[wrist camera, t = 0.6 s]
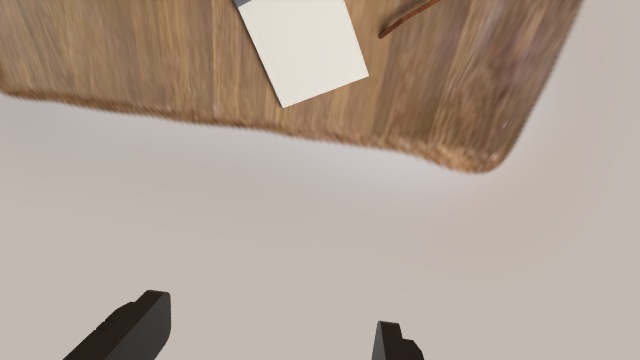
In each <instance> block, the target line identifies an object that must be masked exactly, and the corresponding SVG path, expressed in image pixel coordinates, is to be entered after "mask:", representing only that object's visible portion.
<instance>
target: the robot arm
mask: <svg viewBox="0 0 640 360" xmlns="http://www.w3.org/2000/svg"><path fill="white" fill-rule="evenodd" d="M170 301H171V300H170V294H169V293H168V292H161V291H154V290H147V291H146V292H145V293H144V294H143V295H142V296H141V297H140V298H139V299H138V300H137V301H136V302H129V303H127V304H125V305H123V306H122V307H120V308H118V309H116V310H115V311H114V312H113V313H112V314H111V315H110V316H109V317H108V318H107V319H106V320H105V322H102V323H101V324H100V325H99V326H98V327H97V328H96V330H94V331H93V332H92V333H91V334H89V335H88V336H87V337H86V338H85V339H84V340H83V341H82V342H81V343H80V344H79V345H78V346H77V347H76V348H75V349H74V350H73V351H72V352H70V353H69V354H68V355H67V356H66V357H65V358H64V359H63V360H154V359H155V358H156V357H157V355H158V354H159V352H160V351H161V350H162V348H163V346H164V345H165V344H166V342H167V340H168V338H169V335H170V330H171V302H170ZM372 360H424V357H423V354H422V351H421V350H420V349H419V348H418V346H417V345H416V344H415V342H414V341H413V340H408V339H403V338H402V334H401V329H400V326H399V324H398V323H392V322H384V321H378V324H377V329H376V336H375V342H374V348H373V353H372Z"/></svg>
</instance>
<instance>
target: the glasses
mask: <svg viewBox="0 0 640 360" xmlns="http://www.w3.org/2000/svg"><path fill="white" fill-rule="evenodd" d="M439 1H441V0H431V1H429V2H428V3H426V4H424V5H423V6H421V7H419V8H418V9H416V10H414V11H412V12H411V13H409V14H407V15H406V16H404V17H402V18H401V19H399V20H398V21H397V22H395V23H394V24H393V25H392V26H390V27H389V28H388V29H387V30H385V31H384V32H383V33H381V34H380V35H379V37H380V39H381V38H383V37H384V36H386V35H387V34H389V33H390V32H391V31H393V30H394V29H395V28H397V27H398V26H399V25H401V24H402V23H403V22H404V21H406V20H407V19H409V18H411V17H412V16H414V15H416V14H418V13H419V12H421V11H423V10H425V9H426V8H428V7H430V6H432V5H434V4H435V3H437V2H439Z"/></svg>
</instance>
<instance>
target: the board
mask: <svg viewBox="0 0 640 360" xmlns="http://www.w3.org/2000/svg"><path fill="white" fill-rule="evenodd" d="M234 1H235V3H236V6H237V8H238V9H239V11H240V13H241V16H242V18H243V20H244V22H245V25H246V27H247V29H248V31H249V34H250V36H251V38H252V40H253V43H254V45H255V47H256V49H257V51H258V54H259V56H260V58H261V60H262V63H263V65H264V67H265V69H266V72H267V74H268V76H269V78H270V81H271V83H272V85H273V87H274V89H275V92H276V94H277V96H278V98H279V101H280V103H281V105H282V107H283V108H285V107H287V106H290V105H293V104H295V103H298V102H301V101H303V100H306V99H309V98H311V97H314V96H317V95H319V94H322V93H325V92H327V91H330V90H333V89H335V88H338V87H341V86H343V85H346V84H349V83H351V82H354V81H357V80H359V79H362V78H365V77H367V76H369V74H368V71H367V68H366V65H365V62H364V59H363V56H362V53H361V50H360V47H359V44H358V41H357V38H356V35H355V32H354V29H353V26H352V23H351V20H350V17H349V14H348V11H347V8H346V5H345V2H344V0H234Z"/></svg>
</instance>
